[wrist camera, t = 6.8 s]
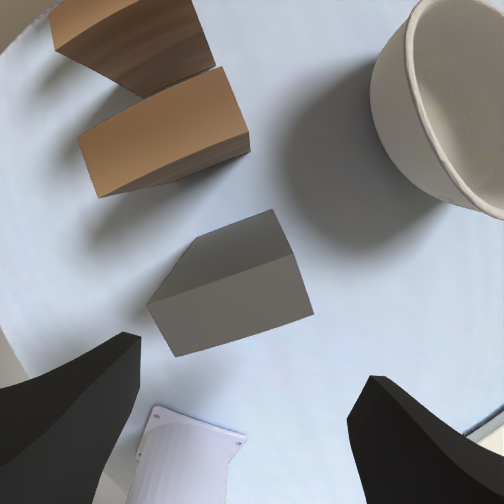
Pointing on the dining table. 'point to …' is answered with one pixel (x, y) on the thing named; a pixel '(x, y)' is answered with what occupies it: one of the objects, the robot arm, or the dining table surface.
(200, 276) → the domino
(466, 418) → the dining table surface
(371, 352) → the dining table surface
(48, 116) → the dining table surface
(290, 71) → the dining table surface
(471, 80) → the teacup
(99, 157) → the domino
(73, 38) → the domino
